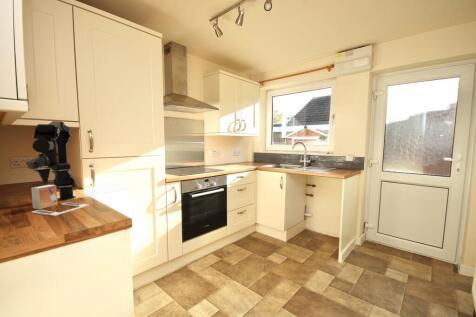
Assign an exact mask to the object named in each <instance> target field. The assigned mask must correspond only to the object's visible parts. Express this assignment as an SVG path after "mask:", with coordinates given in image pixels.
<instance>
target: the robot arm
mask: <svg viewBox="0 0 476 317" xmlns="http://www.w3.org/2000/svg"><path fill="white" fill-rule="evenodd" d="M34 129H35V130H34V135H33V140H34V142H32V149H33V150H34V151H35V152H37V153H39V154H38V156H37V157H35V158H33V159H30V160H27V161H25V165H26V167H27V168H28V170H32V171H33V172H36V173H37V174H38V175H39V176H40V179H41V180H42V183H43V184H44V185H47V184H48V181H49V177H50V173H53V174H54V179H53V185H56V190H58V193H59V197H57V200H59V201H60V200H62V201H66V200H70V199H74V198H75V199H76V196H77V195H76V196H75V195H74V190H73V188H76V187H77V184H76V182H77V181H76V179H75V178H74V176H73V174H72V173H71V171H70V170H71V169H72V167H71V166H72V165H71V164H70V163H69V151H68V150H69V149H68V145H69V143H70V142H71V138H72V130H71V128H70V127H69V126H68V125H66V124H65V123H64V121H58V120H57V121H56V120H53V121H51V122H50V123H38V124H37V125H36V126H35V128H34Z"/></svg>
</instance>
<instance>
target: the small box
mask: <svg viewBox="0 0 476 317" xmlns="http://www.w3.org/2000/svg"><path fill="white" fill-rule="evenodd" d="M30 190H31V198H32V199H31V200H32V201H31V202H32V203H31V204H32V209H36V210H44V209H46V208H50V207H51V208H52V207H55V205H56V206H58V199H57V198H58V192H57V190H58V189H56V185H54V184H44V185H40V186H35V187H31V189H30Z"/></svg>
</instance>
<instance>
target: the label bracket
mask: <svg viewBox="0 0 476 317" xmlns="http://www.w3.org/2000/svg"><path fill="white" fill-rule="evenodd" d="M61 205H62V206H68V207H69V206H70V207H71V206H72V207H73V208H71V209H67V210H63V211H61V212H58V211H49V210H44V209H36V210H34V211H31V212H30V213H32V214H37V215H38V214H39V215H45V216H46V215H47V216H54V217H57V216H59V215H62V214H66V213H69V212H72V211H75V210H79V209H82V208H85V207H88V206H90V204H87V203H76V202H63V203H61Z"/></svg>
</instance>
